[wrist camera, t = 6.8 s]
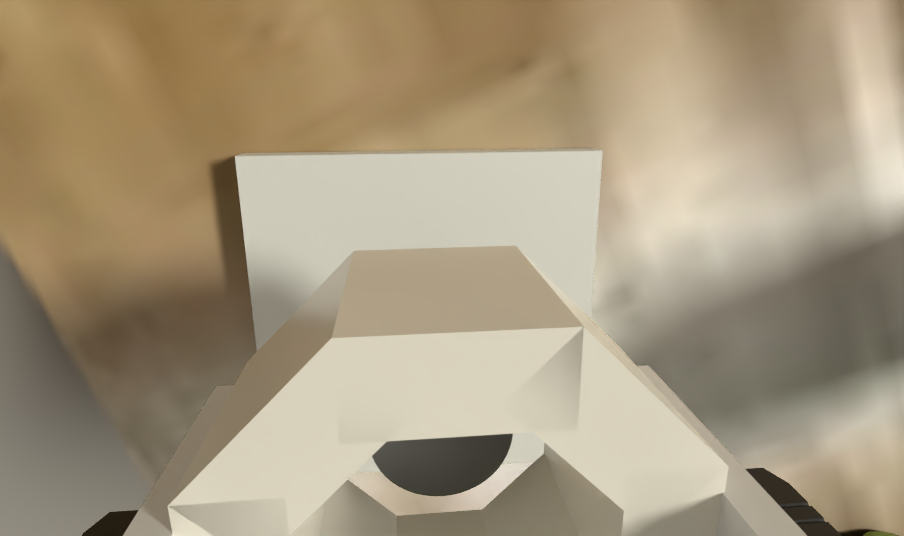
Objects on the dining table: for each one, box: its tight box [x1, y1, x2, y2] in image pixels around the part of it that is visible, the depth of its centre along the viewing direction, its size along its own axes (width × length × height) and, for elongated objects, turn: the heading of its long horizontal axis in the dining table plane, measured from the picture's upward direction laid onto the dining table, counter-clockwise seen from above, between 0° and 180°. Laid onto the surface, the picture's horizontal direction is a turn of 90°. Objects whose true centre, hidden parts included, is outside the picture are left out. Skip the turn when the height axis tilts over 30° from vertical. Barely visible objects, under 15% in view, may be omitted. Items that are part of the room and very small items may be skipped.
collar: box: [168, 245, 729, 536], centre depth 12 cm, size 9×9×5 cm
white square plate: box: [235, 148, 602, 496], centre depth 18 cm, size 12×12×8 cm
